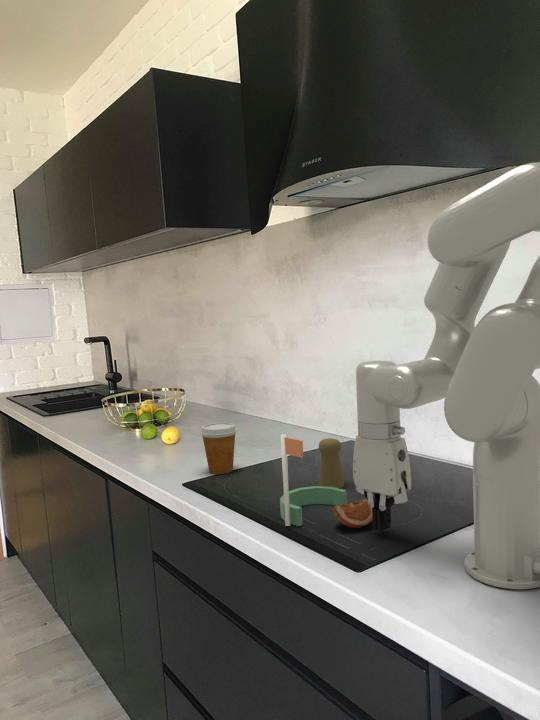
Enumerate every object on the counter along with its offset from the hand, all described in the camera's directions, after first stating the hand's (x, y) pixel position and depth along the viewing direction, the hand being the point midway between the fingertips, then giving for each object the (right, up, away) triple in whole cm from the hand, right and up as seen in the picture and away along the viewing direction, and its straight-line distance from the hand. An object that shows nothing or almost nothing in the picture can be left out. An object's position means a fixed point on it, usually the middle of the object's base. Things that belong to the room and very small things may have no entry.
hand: (381, 528), depth 107 cm
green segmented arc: (-12, -1, +13) cm, 17 cm away
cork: (-6, +1, +31) cm, 31 cm away
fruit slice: (-4, -1, +5) cm, 7 cm away
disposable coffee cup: (-33, +1, +48) cm, 58 cm away
